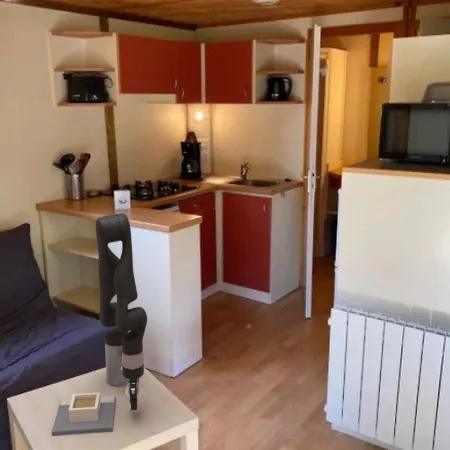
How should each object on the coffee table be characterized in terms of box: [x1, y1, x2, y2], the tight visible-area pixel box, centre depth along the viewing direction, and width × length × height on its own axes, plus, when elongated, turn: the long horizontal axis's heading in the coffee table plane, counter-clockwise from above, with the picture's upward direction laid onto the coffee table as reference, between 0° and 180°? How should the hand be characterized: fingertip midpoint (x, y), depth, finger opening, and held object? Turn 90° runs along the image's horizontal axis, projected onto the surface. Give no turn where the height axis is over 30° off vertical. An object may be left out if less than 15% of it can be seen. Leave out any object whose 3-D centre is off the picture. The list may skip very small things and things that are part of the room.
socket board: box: [51, 392, 117, 436], centre depth 183 cm, size 18×20×6 cm
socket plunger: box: [74, 398, 96, 408], centre depth 183 cm, size 7×7×2 cm
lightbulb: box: [124, 383, 144, 413], centre depth 184 cm, size 6×6×11 cm
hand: (134, 403), depth 184 cm, fingers closed on lightbulb, 6 cm apart
